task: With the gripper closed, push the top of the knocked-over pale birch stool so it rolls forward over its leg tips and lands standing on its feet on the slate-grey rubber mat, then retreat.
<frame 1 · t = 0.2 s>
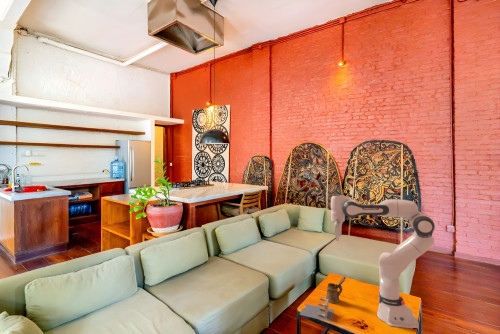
hand: (337, 238, 172), 47 cm above the table, fingers open, 8 cm apart
wooden mug: (335, 301, 180), on the table
stool: (326, 314, 165), resting on mat
mat: (317, 312, 167), on the table
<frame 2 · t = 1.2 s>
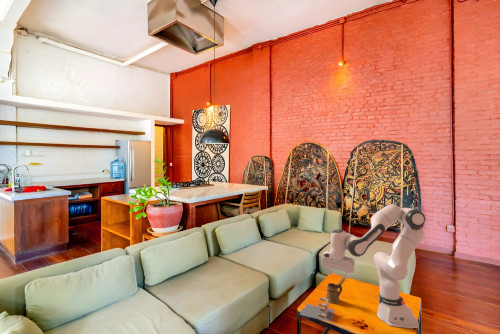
hand: (337, 276, 163), 25 cm above the table, fingers open, 8 cm apart
nothing on the table moved.
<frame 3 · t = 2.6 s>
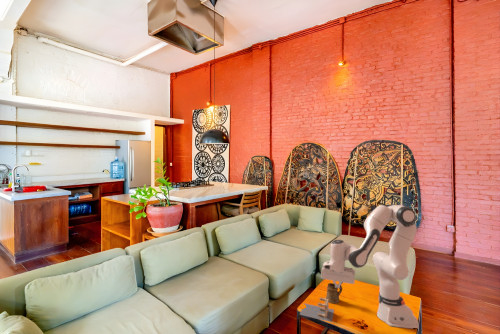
hand: (337, 287, 161), 19 cm above the table, fingers closed
nothing on the table moved.
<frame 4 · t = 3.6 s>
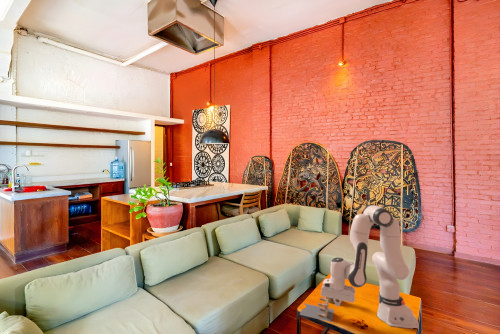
hand: (337, 305, 162), 8 cm above the table, fingers closed
nothing on the table moved.
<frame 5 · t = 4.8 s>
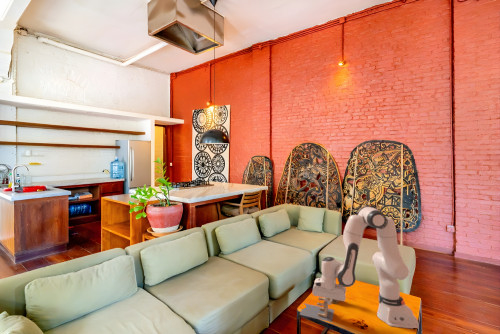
hand: (328, 304, 164), 7 cm above the table, fingers closed
stool: (326, 313, 165), point 1 cm above the table, tilted 5°, touching gripper, mat
everything else where it was.
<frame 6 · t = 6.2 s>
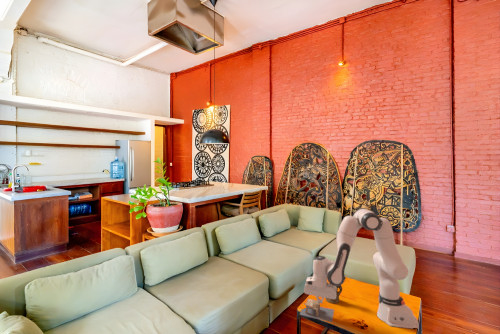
hand: (320, 302, 166), 7 cm above the table, fingers closed
stool: (319, 305, 166), point 5 cm above the table, tilted 90°, touching mat
everything else where it was.
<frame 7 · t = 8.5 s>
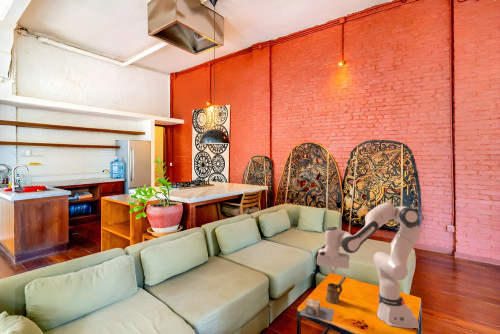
hand: (333, 273, 166), 26 cm above the table, fingers closed
nothing on the table moved.
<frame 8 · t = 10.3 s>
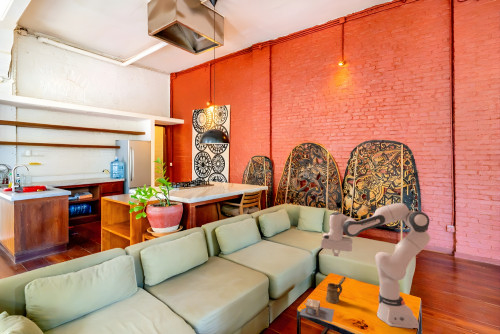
hand: (336, 256, 175), 34 cm above the table, fingers closed
nothing on the table moved.
at the end: stool tilted 90°; stool inside the target area on the mat (3.3 cm from its centre), point 5.0 cm above the mat's base; stool moved 6.7 cm from its start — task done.
